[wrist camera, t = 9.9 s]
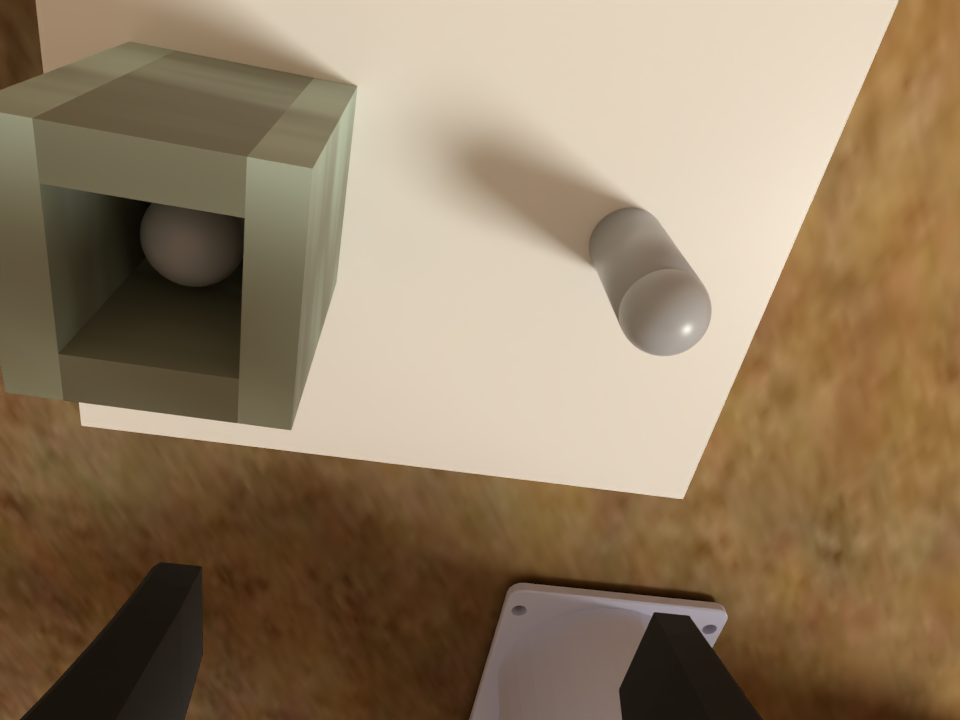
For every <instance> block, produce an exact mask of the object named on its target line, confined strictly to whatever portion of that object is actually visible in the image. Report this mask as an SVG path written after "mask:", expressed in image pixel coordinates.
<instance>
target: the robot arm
mask: <svg viewBox="0 0 960 720" xmlns="http://www.w3.org/2000/svg"><path fill="white" fill-rule="evenodd" d="M516 606H520V607H516ZM727 618H728V616H727V613H726V611H725V608H724V606H723V605H721V604H719V603H715V602H705V601H695V600H686V599H676V598H666V597H657V596H647V595H637V594H628V593H618V592H608V591H599V590H589V589H579V588H570V587H560V586H550V585H541V584H531V583H517V584H514V585H513V586H511V587H510V588H509V589H508V591H507V594H506V597H505V601H504V604H503V607H502V611H501V614H500V617H499V621H498V624H497V627H496V631H495V634H494V637H493V641H492V644H491V648H490V651H489V654H488V658H487V661H486V664H485V668H484V671H483V674H482V678H481V681H480V685H479V688H478V691H477V695H476V698H475V701H474V705H473V708H472V711H471V715H470V718H469V720H763V719H762V718H761V717H760V715H759V714H758V713H757V711H756V710H755V708H754V707H753V706H752V704H751V703H750V701H749V700H748V699H747V697H746V696H745V694H744V693H743V692H742V690H741V689H740V687H739V686H738V685H737V683H736V682H735V680H734V679H733V677H732V676H731V675H730V673H729V672H728V670H727V669H726V667H725V666H724V665H723V663H722V662H721V660H720V659H719V657H718V656H717V654H716V653H715V652H714V650H713V649H712V647H713V646H714V644H715V642H716V640H717V638H718V636H719V634H720V632H721V631H722V629H723V627H724V625H725V623H726V621H727ZM202 655H203V630H202V567H201V566H192V565H182V564H172V563H162V562H161V563H159V564H157V565H156V566H154V567H153V568H152V569H151V570H150V572H149V573H148V574H147V576H146V577H145V578H144V580H143V581H142V582H141V584H140V585H139V586H138V587H137V589H136V590H135V591H134V593H133V594H132V595H131V596H130V598H129V599H128V600H127V601H126V603H125V604H124V605H123V606H122V607H121V609H120V610H119V611H118V612H117V614H116V615H115V616H114V617H113V618H112V620H111V621H110V622H109V623H108V624H107V625H106V627H105V628H104V629H103V630H102V631H101V632H100V634H99V635H98V636H97V637H96V638H95V639H94V641H93V642H92V643H91V644H90V645H89V646H88V647H87V648H86V650H85V651H84V652H83V653H82V654H81V655H80V656H79V657H78V658H77V659H76V661H75V662H74V663H73V664H72V665H71V666H70V667H69V668H68V669H67V671H66V672H65V673H64V674H63V675H62V676H61V677H60V678H59V679H58V680H57V682H56V683H55V684H54V685H53V686H52V687H51V688H50V689H49V690H48V691H47V692H46V693H45V694H44V695H43V697H42V698H41V699H40V700H39V701H38V702H37V703H36V704H35V705H34V706H33V707H32V708H31V709H30V710H29V711H28V712H27V713H26V714H25V715H24V716H23V717H22V718H21V719H20V720H185V716H186V713H187V709H188V706H189V702H190V699H191V695H192V692H193V688H194V684H195V681H196V677H197V673H198V669H199V666H200V662H201V658H202Z"/></svg>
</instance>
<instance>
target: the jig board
mask: <svg viewBox="0 0 960 720" xmlns="http://www.w3.org/2000/svg"><path fill="white" fill-rule="evenodd" d="M898 1H899V0H36V10H37V19H38V28H39V37H40V47H41V56H42V65H43V74H44V73H47V72H49V71H52V70H55V69H57V68H60V67H63V66H65V65H68V64H71V63H73V62H76V61H79V60H81V59H84V58H87V57H89V56H92V55H95V54H97V53H100V52H103V51H105V50H108V49H111V48H113V47H116V46H119V45H121V44H124V43H127V42H129V41H130V42H135V43H140V44H145V45H150V46H155V47H160V48H165V49H170V50H175V51H181V52H186V53H191V54H196V55H201V56H206V57H211V58H216V59H221V60H226V61H232V62H237V63H242V64H247V65H252V66H257V67H262V68H267V69H272V70H277V71H282V72H288V73H293V74H298V75H303V76H308V77H313V78H318V79H323V80H328V81H333V82H339V83H344V84H349V85H354V86H358V87H357V96H356V106H355V115H354V125H353V134H352V143H351V153H350V162H349V171H348V181H347V190H346V199H345V209H344V218H343V227H342V237H341V246H340V255H339V265H338V274H337V283H336V286H335V289H334V293H333V296H332V299H331V302H330V306H329V309H328V312H327V315H326V319H325V322H324V325H323V328H322V332H321V335H320V338H319V342H318V345H317V348H316V351H315V355H314V358H313V361H312V364H311V368H310V371H309V374H308V377H307V381H306V384H305V387H304V390H303V394H302V397H301V400H300V404H299V407H298V410H297V413H296V417H295V420H294V423H293V426H292V430H284V429H277V428H269V427H262V426H254V425H246V424H239V423H231V422H224V421H216V420H209V419H201V418H193V417H186V416H178V415H171V414H163V413H156V412H148V411H140V410H133V409H125V408H118V407H110V406H103V405H95V404H87V403H80V402H79V407H80V417H81V426H89V427H97V428H105V429H113V430H122V431H130V432H138V433H146V434H154V435H163V436H171V437H179V438H187V439H195V440H203V441H212V442H220V443H228V444H236V445H244V446H253V447H261V448H269V449H277V450H285V451H294V452H302V453H310V454H318V455H326V456H334V457H343V458H351V459H359V460H367V461H375V462H384V463H392V464H400V465H408V466H416V467H424V468H433V469H441V470H449V471H457V472H465V473H474V474H482V475H490V476H498V477H506V478H515V479H523V480H531V481H539V482H547V483H555V484H564V485H572V486H580V487H588V488H596V489H605V490H613V491H621V492H629V493H637V494H645V495H654V496H662V497H670V498H678V499H683V498H684V495H685V493H686V491H687V489H688V486H689V484H690V482H691V479H692V477H693V475H694V472H695V470H696V468H697V465H698V463H699V461H700V459H701V456H702V454H703V452H704V449H705V447H706V445H707V442H708V440H709V438H710V435H711V433H712V431H713V428H714V426H715V424H716V422H717V419H718V417H719V415H720V412H721V410H722V408H723V405H724V403H725V401H726V398H727V396H728V394H729V392H730V389H731V387H732V385H733V382H734V380H735V378H736V375H737V373H738V371H739V368H740V366H741V364H742V361H743V359H744V357H745V355H746V352H747V350H748V348H749V345H750V343H751V341H752V338H753V336H754V334H755V331H756V329H757V327H758V325H759V322H760V320H761V318H762V315H763V313H764V311H765V308H766V306H767V304H768V301H769V299H770V297H771V294H772V292H773V290H774V288H775V285H776V283H777V281H778V278H779V276H780V274H781V271H782V269H783V267H784V264H785V262H786V260H787V258H788V255H789V253H790V251H791V248H792V246H793V244H794V241H795V239H796V237H797V234H798V232H799V230H800V228H801V225H802V223H803V221H804V218H805V216H806V214H807V211H808V209H809V207H810V204H811V202H812V200H813V197H814V195H815V193H816V191H817V188H818V186H819V184H820V181H821V179H822V177H823V174H824V172H825V170H826V167H827V165H828V163H829V161H830V158H831V156H832V154H833V151H834V149H835V147H836V144H837V142H838V140H839V137H840V135H841V133H842V130H843V128H844V126H845V124H846V121H847V119H848V117H849V114H850V112H851V110H852V107H853V105H854V103H855V100H856V98H857V96H858V94H859V91H860V89H861V87H862V84H863V82H864V80H865V77H866V75H867V73H868V70H869V68H870V66H871V63H872V61H873V59H874V57H875V54H876V52H877V50H878V47H879V45H880V43H881V40H882V38H883V36H884V33H885V31H886V29H887V27H888V24H889V22H890V20H891V17H892V15H893V13H894V10H895V8H896V6H897V3H898ZM244 226H245V218H241V217H235V216H229V215H223V214H218V213H212V212H206V211H200V210H194V209H188V208H182V207H176V206H170V205H164V204H158V203H151V205H150V206H149V207H148V208H147V210H146V212H145V214H144V216H143V219H142V222H141V227H140V241H141V245H142V249H143V251H144V254H145V256H146V258H147V260H148V261H149V263H150V264H151V266H152V267H153V268H154V269H155V270H156V271H157V272H158V273H159V274H161V275H162V276H163V277H165V278H166V279H168V280H170V281H172V282H174V283H177V284H180V285H184V286H190V287H203V286H209V285H212V284H215V283H218V282H220V281H222V280H223V279H225V278H227V277H228V276H229V275H230V274H232V273H233V272H234V270H235V269H236V268H237V267H238V265H239V264H240V262H241V261H242V259H243V254H244Z"/></svg>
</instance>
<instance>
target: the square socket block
mask: <svg viewBox="0 0 960 720" xmlns="http://www.w3.org/2000/svg"><path fill="white" fill-rule="evenodd" d="M357 87H358V86H354V85H349V84H344V83H339V82H333V81H328V80H323V79H318V78H313V77H308V76H303V75H298V74H293V73H288V72H282V71H277V70H272V69H267V68H262V67H257V66H252V65H247V64H242V63H237V62H232V61H226V60H221V59H216V58H211V57H206V56H201V55H196V54H191V53H186V52H181V51H175V50H170V49H165V48H160V47H155V46H150V45H145V44H140V43H135V42H130V41H129V42H127V43H124V44H121V45H119V46H116V47H113V48H111V49H108V50H105V51H103V52H100V53H97V54H95V55H92V56H89V57H87V58H84V59H81V60H79V61H76V62H73V63H71V64H68V65H65V66H63V67H60V68H57V69H55V70H52V71H49V72H47V73H44V74H41V75H39V76H36V77H33V78H31V79H28V80H25V81H23V82H20V83H17V84H15V85H12V86H9V87H7V88H4V89H1V90H0V363H1V370H2V376H3V382H4V389H5V393H12V394H19V395H27V396H35V397H42V398H50V399H57V400H65V401H72V402H80V403H87V404H95V405H103V406H110V407H118V408H125V409H133V410H140V411H148V412H156V413H163V414H171V415H178V416H186V417H193V418H201V419H209V420H216V421H224V422H231V423H239V424H246V425H254V426H262V427H269V428H277V429H284V430H292V426H293V423H294V420H295V417H296V413H297V410H298V407H299V404H300V400H301V397H302V394H303V390H304V387H305V384H306V381H307V377H308V374H309V371H310V368H311V364H312V361H313V358H314V355H315V351H316V348H317V345H318V342H319V338H320V335H321V332H322V328H323V325H324V322H325V319H326V315H327V312H328V309H329V306H330V302H331V299H332V296H333V293H334V289H335V286H336V283H337V274H338V265H339V255H340V246H341V237H342V227H343V218H344V209H345V199H346V190H347V181H348V171H349V162H350V153H351V143H352V134H353V125H354V115H355V106H356V96H357ZM151 203H158V204H164V205H170V206H176V207H182V208H188V209H194V210H200V211H206V212H212V213H218V214H223V215H229V216H235V217H241V218H245V226H244V254H243V259H242V261H241V262H240V264H239V265H238V267H237V268H236V269H235V270H234V272H233V273H232V274H230V275H229V276H228V277H227V278H225V279H223V280H222V281H220V282H218V283H215V284H212V285H209V286H203V287H190V286H184V285H180V284H177V283H174V282H172V281H170V280H168V279H166V278H165V277H163V276H162V275H161V274H159V273H158V272H157V271H156V270H155V269H154V268H153V267H152V266H151V264H150V263H149V261H148V260H147V258H146V256H145V254H144V251H143V249H142V245H141V241H140V227H141V222H142V219H143V216H144V214H145V212H146V210H147V208H148V207H149V206H150V205H151Z"/></svg>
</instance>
